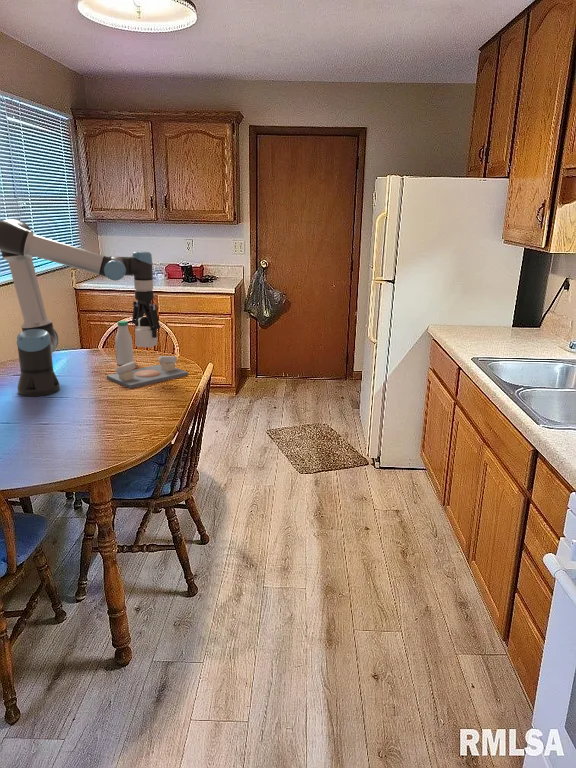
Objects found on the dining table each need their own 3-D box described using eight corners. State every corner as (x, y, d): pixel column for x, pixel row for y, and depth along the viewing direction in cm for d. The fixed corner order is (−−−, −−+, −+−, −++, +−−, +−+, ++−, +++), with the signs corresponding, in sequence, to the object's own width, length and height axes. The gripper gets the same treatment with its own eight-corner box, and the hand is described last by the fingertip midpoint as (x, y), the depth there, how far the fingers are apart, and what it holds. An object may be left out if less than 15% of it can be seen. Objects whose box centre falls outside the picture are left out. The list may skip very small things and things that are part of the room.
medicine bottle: (157, 343, 239) (156, 316, 236) (152, 347, 233) (150, 319, 229) (141, 342, 240) (140, 315, 236) (135, 346, 233) (134, 318, 230)
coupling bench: (129, 388, 225) (128, 369, 222) (106, 378, 236) (105, 360, 234) (188, 375, 245) (187, 357, 243) (164, 366, 257) (163, 349, 254)
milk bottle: (137, 363, 261) (134, 321, 255) (124, 366, 254) (121, 323, 248) (125, 360, 265) (123, 319, 259) (112, 364, 258) (110, 321, 252)
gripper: (167, 292, 225) (169, 346, 231) (137, 286, 239) (139, 336, 246) (151, 294, 219) (154, 348, 226) (121, 287, 234) (124, 339, 241)
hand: (146, 342), depth 236 cm, fingers closed on medicine bottle, 10 cm apart
